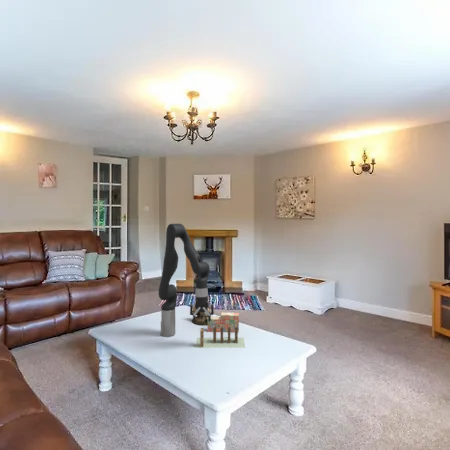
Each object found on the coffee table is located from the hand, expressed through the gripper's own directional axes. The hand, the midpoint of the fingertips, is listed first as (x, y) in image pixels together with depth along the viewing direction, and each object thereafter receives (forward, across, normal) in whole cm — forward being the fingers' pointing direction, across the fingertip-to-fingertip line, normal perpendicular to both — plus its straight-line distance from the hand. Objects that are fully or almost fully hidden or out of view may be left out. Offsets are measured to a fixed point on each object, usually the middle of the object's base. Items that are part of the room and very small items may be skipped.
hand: (202, 321), depth 197 cm
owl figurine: (+15, -4, +45) cm, 48 cm away
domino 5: (+15, +21, +6) cm, 26 cm away
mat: (+15, +11, +5) cm, 19 cm away
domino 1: (+15, 0, 0) cm, 15 cm away
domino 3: (+15, +12, +6) cm, 20 cm away
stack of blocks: (+15, +12, +26) cm, 33 cm away
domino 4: (+15, +16, +6) cm, 23 cm away
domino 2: (+15, +7, +6) cm, 18 cm away
